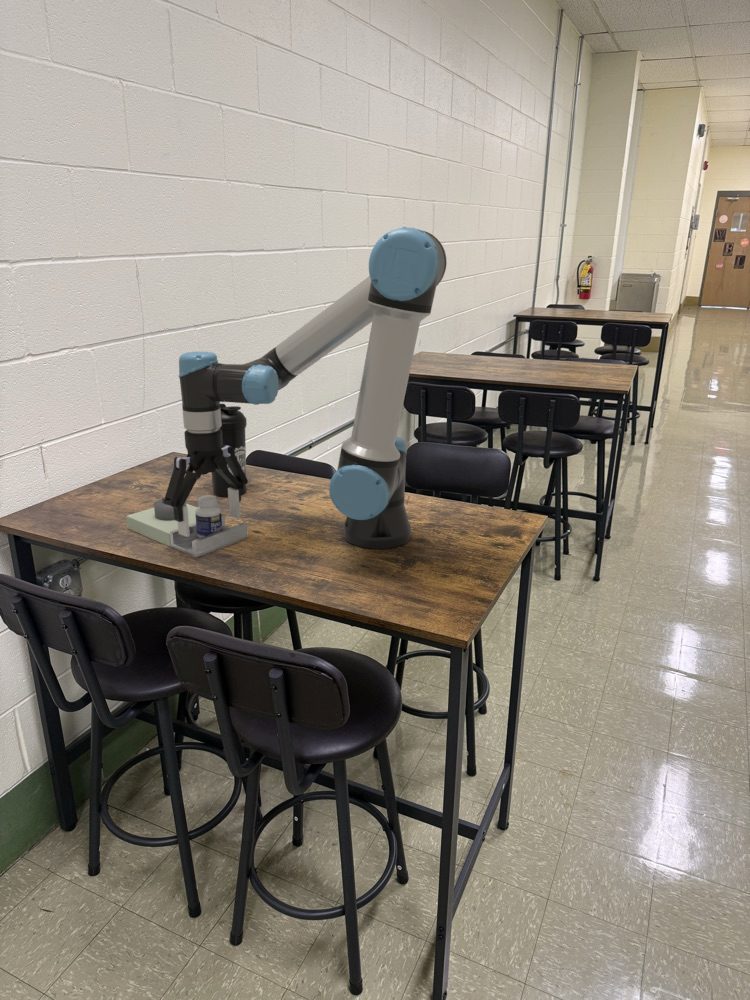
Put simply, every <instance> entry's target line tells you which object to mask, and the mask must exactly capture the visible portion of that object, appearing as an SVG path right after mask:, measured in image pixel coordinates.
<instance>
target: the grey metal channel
mask: <svg viewBox="0 0 750 1000" xmlns="http://www.w3.org/2000/svg"><path fill="white" fill-rule="evenodd" d="M221 517H222V530H221V531H219V532H216V533H213V534H210V535H207V536H205V537H202V538H199V539H197V529H196V523H195V524H192V525H189V533H190V536H188V537H186V536H183V535H181V534H179V531H178V529H177V530H174V531H171V532H170V541H171V547H170V548H172V549H174V550H177V551H179V552H181V553H183V554H186V555H188V556H190V557H193V558H196V559H197V558H199V557H202V556H205V555H208V554H210V553H212V552H215V551H218V550H221V549H223V548H226V547H228V546H231V545H234V544H236V543H238V542H241V541H244V540H247V539H248V538H249V536H248V523H246V522H242V523H239V524H236V525H233V526H227V525H226V516H225V515H224V514H221Z"/></svg>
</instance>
